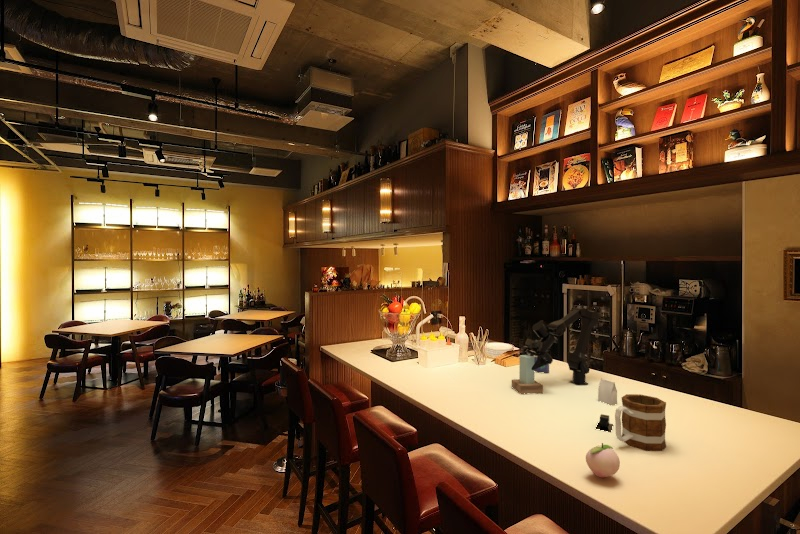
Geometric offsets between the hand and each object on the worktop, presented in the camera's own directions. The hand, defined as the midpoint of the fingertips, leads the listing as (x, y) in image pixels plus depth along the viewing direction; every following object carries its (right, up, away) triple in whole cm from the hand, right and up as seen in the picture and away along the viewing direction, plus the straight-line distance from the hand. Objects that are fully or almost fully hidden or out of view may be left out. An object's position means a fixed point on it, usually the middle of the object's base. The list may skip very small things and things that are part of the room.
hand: (526, 367), depth 202 cm
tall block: (0, -7, 0) cm, 7 cm away
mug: (+20, -12, -61) cm, 65 cm away
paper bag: (+31, -12, -17) cm, 38 cm away
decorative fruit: (-3, -12, -83) cm, 84 cm away
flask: (+19, -12, +35) cm, 42 cm away
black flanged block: (+16, -12, -45) cm, 50 cm away
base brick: (0, -11, 0) cm, 11 cm away
